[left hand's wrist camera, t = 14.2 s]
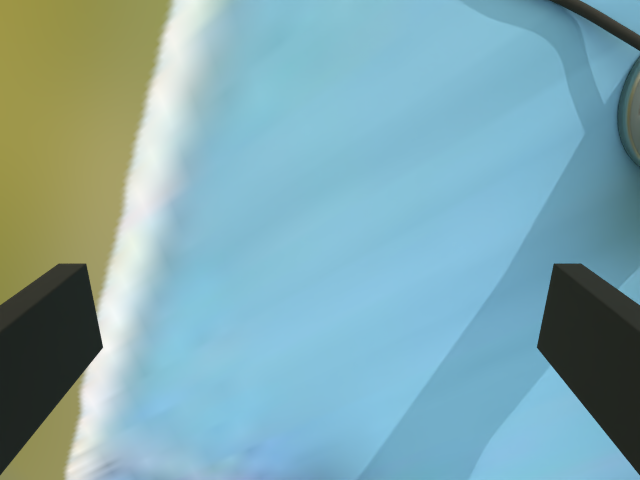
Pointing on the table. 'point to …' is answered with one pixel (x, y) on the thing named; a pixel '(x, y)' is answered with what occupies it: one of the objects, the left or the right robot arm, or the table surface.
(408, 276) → the table surface
